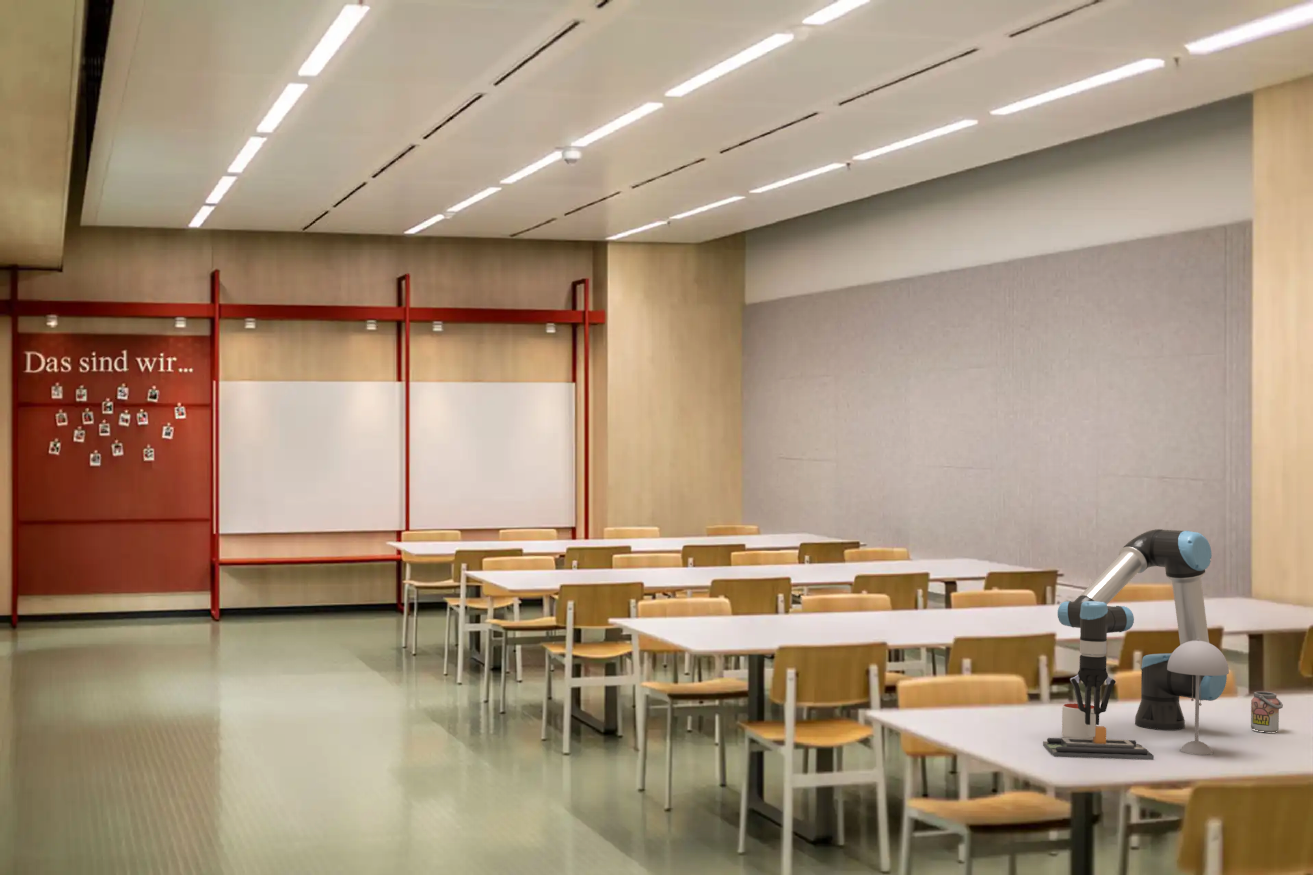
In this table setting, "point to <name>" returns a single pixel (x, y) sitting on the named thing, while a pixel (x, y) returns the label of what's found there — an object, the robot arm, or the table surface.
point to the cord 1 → (1058, 740)
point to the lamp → (1197, 678)
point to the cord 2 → (1101, 750)
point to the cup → (1074, 722)
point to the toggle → (1100, 735)
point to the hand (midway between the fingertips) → (1091, 735)
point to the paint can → (1265, 712)
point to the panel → (1098, 755)
